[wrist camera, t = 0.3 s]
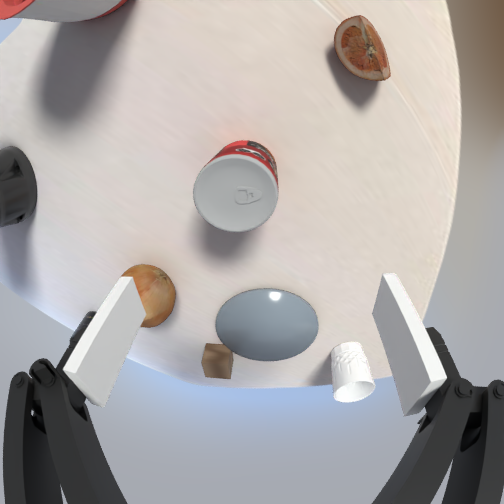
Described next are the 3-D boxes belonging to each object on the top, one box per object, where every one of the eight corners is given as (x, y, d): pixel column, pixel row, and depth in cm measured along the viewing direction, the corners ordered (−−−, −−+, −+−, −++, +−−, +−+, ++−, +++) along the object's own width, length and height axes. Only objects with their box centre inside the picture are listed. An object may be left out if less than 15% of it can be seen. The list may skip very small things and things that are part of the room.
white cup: (321, 349, 51) (326, 391, 42) (357, 333, 48) (368, 375, 40) (336, 367, 54) (342, 406, 45) (370, 352, 51) (380, 391, 43)
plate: (207, 342, 52) (206, 347, 51) (232, 272, 43) (231, 277, 42) (292, 363, 54) (292, 368, 53) (335, 303, 45) (336, 308, 44)
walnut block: (209, 358, 55) (205, 377, 50) (206, 342, 52) (201, 362, 48) (233, 359, 54) (230, 379, 50) (231, 344, 52) (227, 364, 47)
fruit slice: (390, 79, 26) (407, 77, 22) (344, 87, 28) (355, 85, 24) (369, 22, 23) (383, 12, 18) (321, 28, 24) (329, 17, 20)
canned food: (284, 185, 35) (288, 220, 26) (227, 203, 37) (211, 243, 28) (264, 130, 32) (262, 142, 22) (205, 151, 34) (179, 173, 24)
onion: (122, 280, 46) (98, 318, 37) (141, 241, 41) (112, 278, 32) (168, 308, 48) (150, 350, 39) (192, 273, 43) (174, 317, 35)
